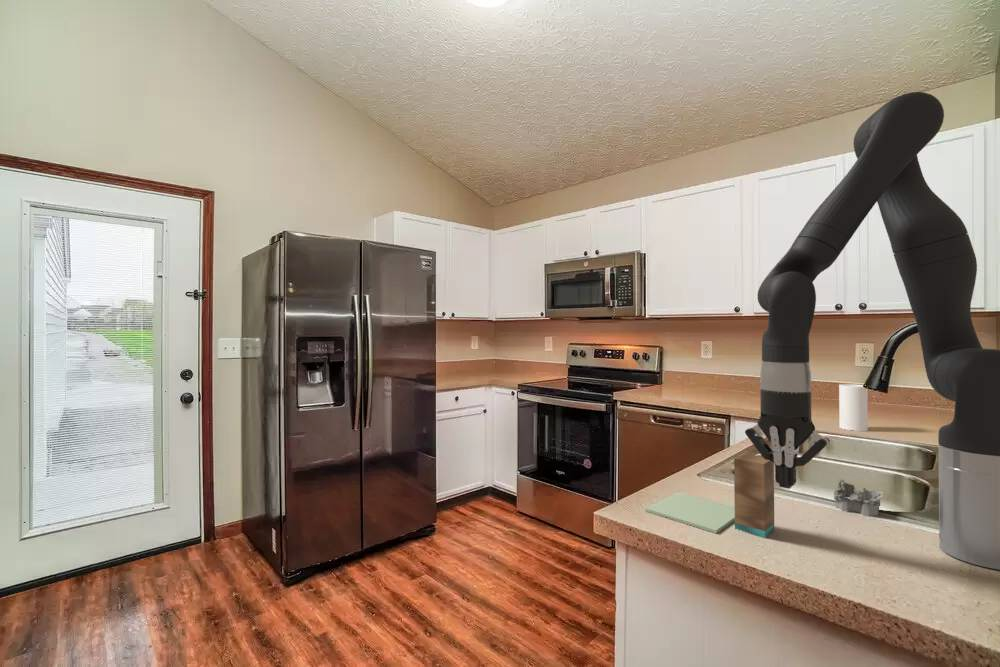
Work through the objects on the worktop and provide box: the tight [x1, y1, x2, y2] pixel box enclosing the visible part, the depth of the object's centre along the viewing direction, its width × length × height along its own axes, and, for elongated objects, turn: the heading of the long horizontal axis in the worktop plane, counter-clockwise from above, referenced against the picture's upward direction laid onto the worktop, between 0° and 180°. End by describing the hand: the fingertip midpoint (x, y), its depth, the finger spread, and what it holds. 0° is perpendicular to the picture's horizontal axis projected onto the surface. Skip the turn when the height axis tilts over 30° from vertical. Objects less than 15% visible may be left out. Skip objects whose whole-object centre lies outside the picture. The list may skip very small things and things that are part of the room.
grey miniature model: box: [833, 478, 884, 517], centre depth 93 cm, size 11×8×4 cm
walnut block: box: [733, 453, 775, 539], centre depth 83 cm, size 5×5×13 cm
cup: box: [838, 383, 869, 432], centre depth 166 cm, size 8×8×16 cm
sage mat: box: [645, 491, 735, 534], centre depth 91 cm, size 14×14×1 cm
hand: (785, 486), depth 79 cm, fingers closed
